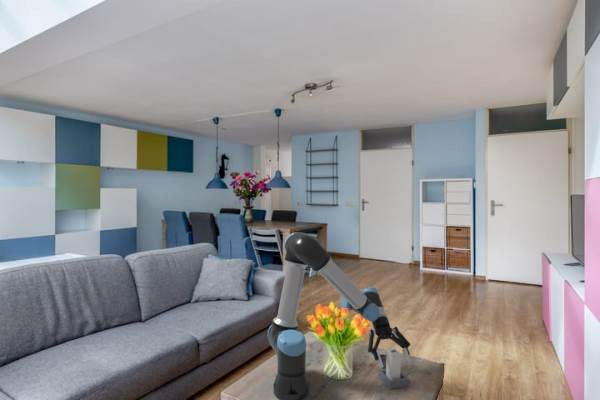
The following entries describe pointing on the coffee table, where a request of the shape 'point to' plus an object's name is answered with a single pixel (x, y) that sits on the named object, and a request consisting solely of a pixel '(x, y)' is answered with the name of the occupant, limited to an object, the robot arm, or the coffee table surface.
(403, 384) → the charging cradle
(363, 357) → the coffee table surface
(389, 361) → the charger
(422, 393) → the coffee table surface
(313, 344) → the coffee table surface
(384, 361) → the smartphone
